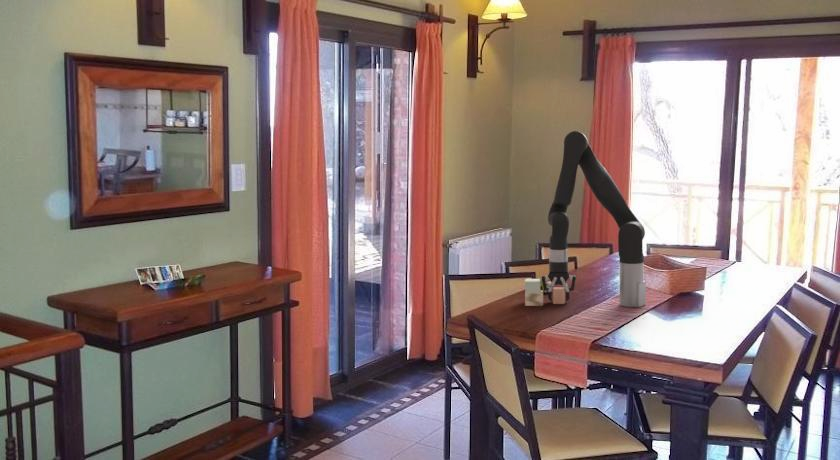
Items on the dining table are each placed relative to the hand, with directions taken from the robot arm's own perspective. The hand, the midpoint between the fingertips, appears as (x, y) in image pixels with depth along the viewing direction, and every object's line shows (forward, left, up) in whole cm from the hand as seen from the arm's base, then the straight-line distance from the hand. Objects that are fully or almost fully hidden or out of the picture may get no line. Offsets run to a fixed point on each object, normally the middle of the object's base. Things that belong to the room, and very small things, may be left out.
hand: (558, 300), depth 319 cm
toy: (+15, -11, -1) cm, 19 cm away
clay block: (0, 0, -1) cm, 1 cm away
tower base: (+7, +7, -1) cm, 10 cm away
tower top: (+7, +8, +4) cm, 11 cm away
